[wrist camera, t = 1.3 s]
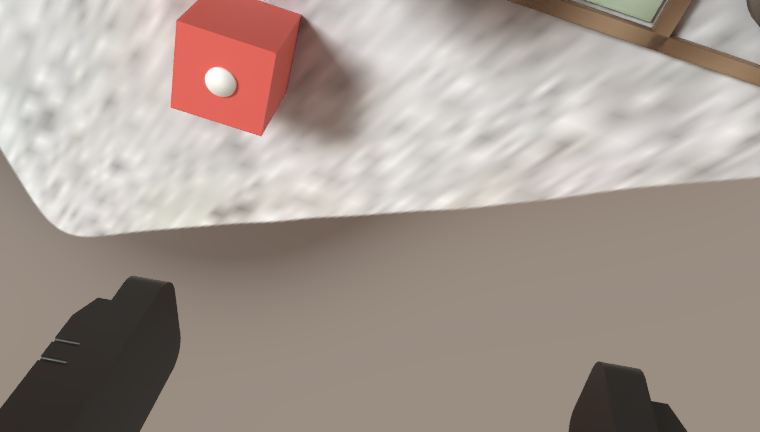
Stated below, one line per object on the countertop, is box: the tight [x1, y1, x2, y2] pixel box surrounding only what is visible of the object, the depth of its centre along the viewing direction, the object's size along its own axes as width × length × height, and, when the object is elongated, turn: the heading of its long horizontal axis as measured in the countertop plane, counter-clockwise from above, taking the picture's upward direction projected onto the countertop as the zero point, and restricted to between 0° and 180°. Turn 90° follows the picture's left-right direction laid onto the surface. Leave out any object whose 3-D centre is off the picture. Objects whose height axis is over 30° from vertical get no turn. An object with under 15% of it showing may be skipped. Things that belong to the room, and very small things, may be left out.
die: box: [171, 0, 301, 136], centre depth 34 cm, size 5×5×5 cm
